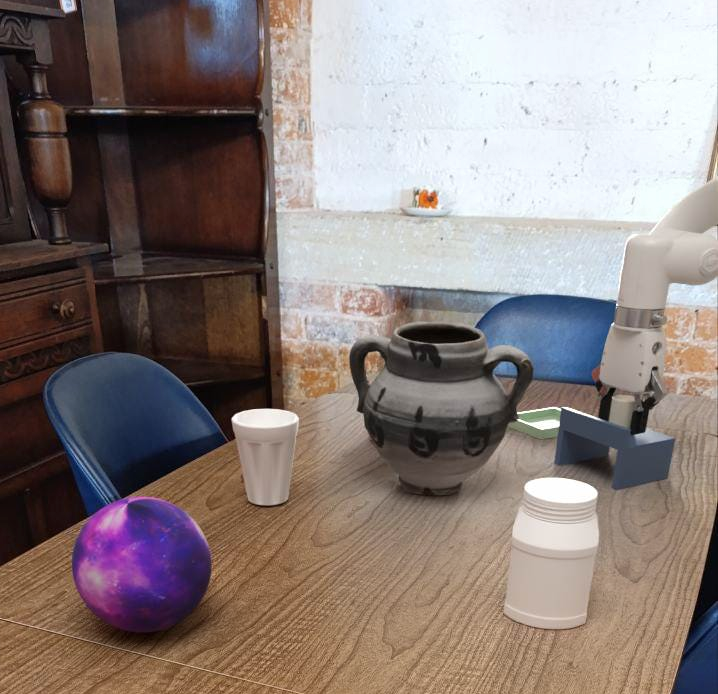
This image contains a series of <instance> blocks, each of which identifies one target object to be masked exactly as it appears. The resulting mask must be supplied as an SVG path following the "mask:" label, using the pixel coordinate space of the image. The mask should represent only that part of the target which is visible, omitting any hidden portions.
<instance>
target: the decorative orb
mask: <svg viewBox="0 0 718 694" xmlns="http://www.w3.org/2000/svg"><path fill="white" fill-rule="evenodd" d="M71 569H72V570H71V572H72V578H73V582H74V586H75V588H76V590H77V592H78V595H79V597H80V599H81V600H82V601H83V603H84V605H85V606H86V607H87V609H89V610H90V612H91V613H93V614H94V615H95V616H96V617H97V618H98V619H100V620H102V621H103V622H104V623H106V624H108V625H110V626H111V627H114V628H117V629H119V630H123V631H127V632H131V633H154V632H159V631H163V630H167V629H169V628H171V627H173V626H175V625H178V624H179V623H180V622H182V621H183V620H185V619H187V617H189V616H190V615H191V614H193V612H194V611H195V610H196V609H197V607H198V606H199V605H200V603H201V602H202V601H203V598H204V597H205V595H206V593H207V591H208V588H209V585H210V582H211V577H212V553H211V549H210V545H209V542H208V540H207V538H206V536H205V534H204V532H203V530H202V529H201V527H200V526H199V524H198V523H197V522H196V521H195V519H193V517H191V516H190V515H189V514H188V513H187V512H186V511H185V510H184V509H182V508H180V507H179V506H177V505H175V504H173V503H171V502H169V501H166V500H163V499H160V498H157V497H151V496H132V497H131V496H129V497H125V498H121V499H118V500H115V501H113V502H110V503H109V504H106V505H105V506H104V507H101V508H100V509H99V510H98V511H96V512H95V513H93V515H92V516H91V517H90V518H89V519H88V520H87V521H86V522H85V524H84V525H83V526H82V528H81V530H80V531H79V533H78V535H77V537H76V540H75V543H74V546H73V550H72V555H71Z"/></svg>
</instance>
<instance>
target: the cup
mask: <svg viewBox="0 0 718 694" xmlns="http://www.w3.org/2000/svg"><path fill="white" fill-rule="evenodd" d="M299 423H300V418H299V417H298V415H297V414H296V413H294V412H292V411H289V410H284V409H279V408H255V409H248V410H243V411H240V412H237V413H235V414H234V415H233V416H232V417H231V425H232V431H233V433H234V437H235V442H236V446H237V452H238V458H239V462H240V467H241V471H242V478H243V482H244V483H243V484H244V487H245V492H246V497H247V500H248V502H250V503H251V504H254V505H259V506H276V505H280V504H283V503H285V502H287V501H288V499H289V495H290V487H291V479H292V474H293V464H294V457H295V449H296V442H297V434H298V431H299Z"/></svg>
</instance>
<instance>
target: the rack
mask: <svg viewBox="0 0 718 694" xmlns="http://www.w3.org/2000/svg"><path fill="white" fill-rule="evenodd" d="M560 409H561V414H560V422H559V430H558V437H556V447H555V454H554V463H553V464H554V465H557V466H563V465H568V464H573V463H578V462H583V461H589V460H594V459H597V458H603V457H607V456H609V455H610V454H609V453H610V449H614V450H617V452H616V457H615V462H614V463H615V464H614V468H613V469H614V470H613V476H612V481H611V482H612V483H611V489H613V490H616V491H618V490H622V489H625V488H626V489H627V488H631V487H636V486H641V485H644V484H649V483H652V482H653V483H654V482H657V481H661V480H666V479H668V478H669V475H670V470H671V469H670V467H671V463H672V458H673V454H674V453H673V452H674V448H675V442H676V437H673V436H670V435H668V434H664V433H662V432H659V431H656V430H652V429H650V428H647V427H646V431H645V433H641V434H636V435H631V434H630V432H631V429H629V428H626V427H623V426H620V425H617V424H614V423H611V422H608V421H605V420H602V419H600V418H598V416H597V417H596V416H594V415H592V414H591V415H590V414H588V413H584V412H582V411H579V410H576V409H573V408H570V407H567V406H563V407H560Z"/></svg>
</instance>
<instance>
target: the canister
mask: <svg viewBox="0 0 718 694" xmlns="http://www.w3.org/2000/svg"><path fill="white" fill-rule="evenodd" d="M634 410H637V409H636V404H635V398H634V395H629V394H615V396H613V397H612V401H611V407H610V414H609V420H608V422H611V423H614V424H617V425H620V426H623V427H626V428H629V429H630V425H631V419H632V413H633V411H634Z"/></svg>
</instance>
